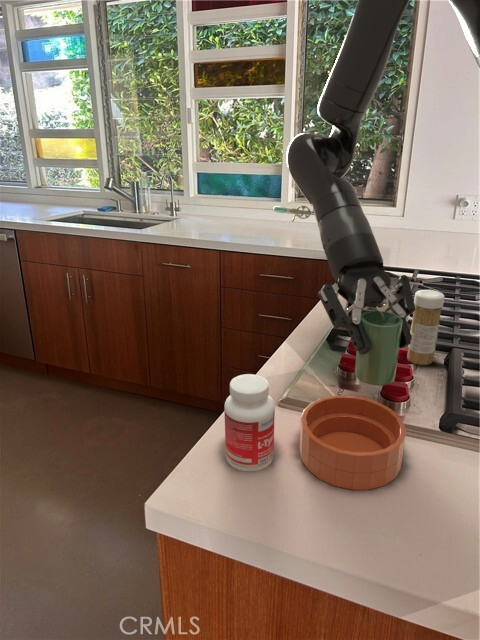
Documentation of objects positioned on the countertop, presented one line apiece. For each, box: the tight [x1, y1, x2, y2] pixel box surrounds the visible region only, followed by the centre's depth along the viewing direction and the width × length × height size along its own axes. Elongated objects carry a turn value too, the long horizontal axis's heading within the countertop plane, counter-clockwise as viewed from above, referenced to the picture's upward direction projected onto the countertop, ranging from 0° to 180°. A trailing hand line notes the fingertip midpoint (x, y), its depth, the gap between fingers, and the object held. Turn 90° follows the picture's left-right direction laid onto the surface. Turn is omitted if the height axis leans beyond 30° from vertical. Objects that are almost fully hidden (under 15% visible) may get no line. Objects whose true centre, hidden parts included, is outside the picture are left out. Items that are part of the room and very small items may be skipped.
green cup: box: [354, 310, 403, 386], centre depth 65 cm, size 6×6×9 cm
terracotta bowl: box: [299, 394, 406, 491], centre depth 58 cm, size 12×12×6 cm
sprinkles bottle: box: [406, 289, 445, 366], centre depth 79 cm, size 5×5×14 cm
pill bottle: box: [223, 373, 276, 472], centre depth 57 cm, size 6×6×11 cm
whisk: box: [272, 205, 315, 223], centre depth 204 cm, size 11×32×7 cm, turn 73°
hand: (385, 348), depth 64 cm, fingers closed on green cup, 5 cm apart
